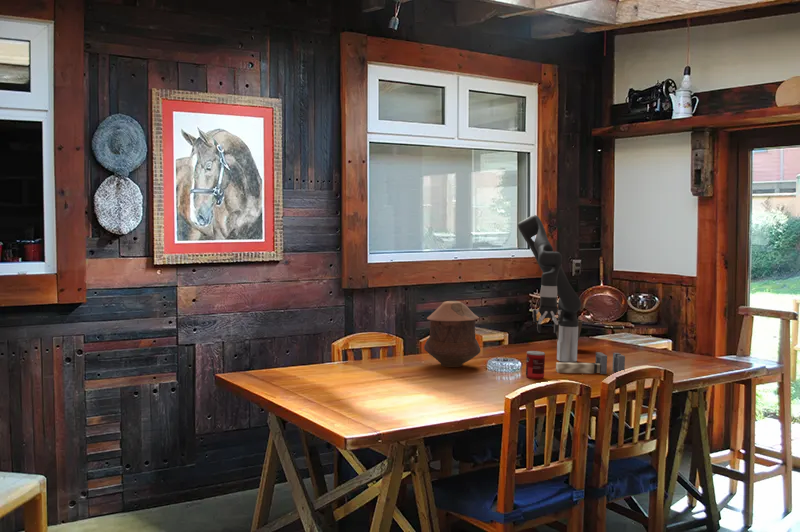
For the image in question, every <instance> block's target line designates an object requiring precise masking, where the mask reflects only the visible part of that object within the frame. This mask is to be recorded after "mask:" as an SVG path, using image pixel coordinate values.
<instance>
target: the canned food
mask: <svg viewBox="0 0 800 532" xmlns="http://www.w3.org/2000/svg"><path fill="white" fill-rule="evenodd" d="M525 359H526V360H525V363H526V364H525V376H526V378H527V379H530V380H531V379H532V380H543V379H544V377H545V368H546V367H545V365H546V364H545V363H546V361H545V359H546V353H545V352H544V351H539V350H528V351H526V358H525Z"/></svg>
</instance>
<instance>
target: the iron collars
mask: <svg viewBox="0 0 800 532" xmlns="http://www.w3.org/2000/svg"><path fill="white" fill-rule="evenodd" d="M594 363H600V374H599V375H601V374H607V372H608V371H607V370H608V369H607V368H608V355H607V354H605V353H603V352H599V351H598V352H597V351H596V352H595V362H594ZM625 364H626V356H625V355H624V354H622V353H620V352H612V372H613V371H614V372H613V373H617V372H618V371H621V370H624V371H625V369H626V368H625Z"/></svg>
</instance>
